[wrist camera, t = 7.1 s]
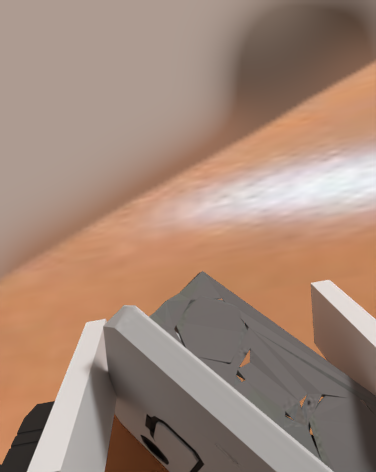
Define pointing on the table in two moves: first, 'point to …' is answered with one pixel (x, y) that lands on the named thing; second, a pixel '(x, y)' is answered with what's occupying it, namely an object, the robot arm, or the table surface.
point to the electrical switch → (233, 390)
